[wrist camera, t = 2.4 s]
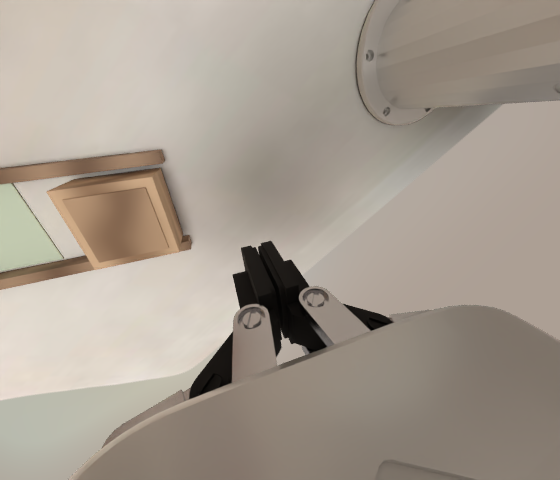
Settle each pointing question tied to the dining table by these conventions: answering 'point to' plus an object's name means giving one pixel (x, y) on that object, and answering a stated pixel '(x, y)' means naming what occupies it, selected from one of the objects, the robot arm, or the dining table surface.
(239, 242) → the dining table surface
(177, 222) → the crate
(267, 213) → the dining table surface
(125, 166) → the bay
